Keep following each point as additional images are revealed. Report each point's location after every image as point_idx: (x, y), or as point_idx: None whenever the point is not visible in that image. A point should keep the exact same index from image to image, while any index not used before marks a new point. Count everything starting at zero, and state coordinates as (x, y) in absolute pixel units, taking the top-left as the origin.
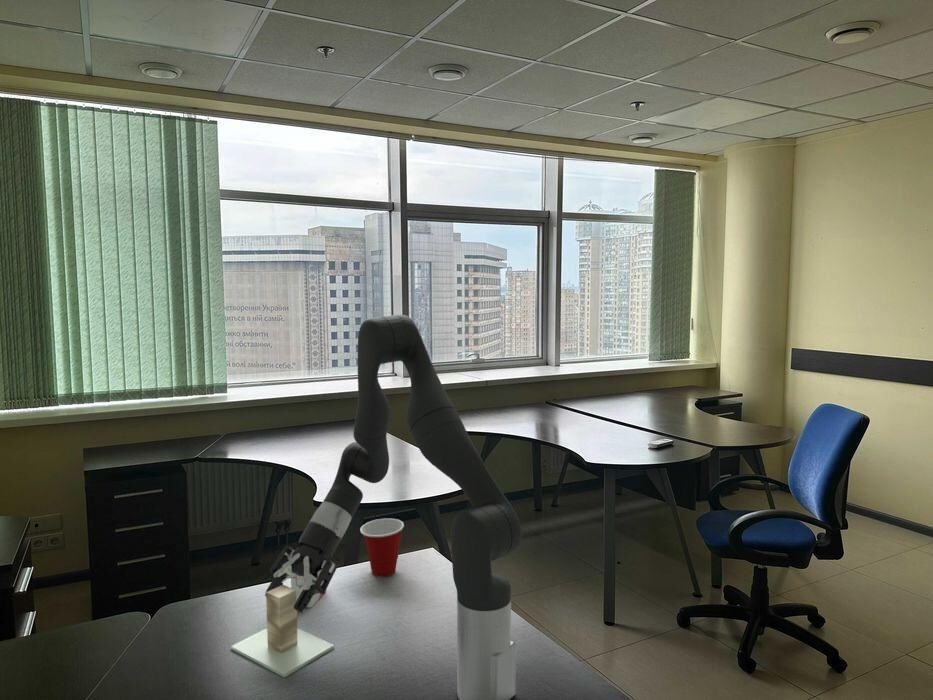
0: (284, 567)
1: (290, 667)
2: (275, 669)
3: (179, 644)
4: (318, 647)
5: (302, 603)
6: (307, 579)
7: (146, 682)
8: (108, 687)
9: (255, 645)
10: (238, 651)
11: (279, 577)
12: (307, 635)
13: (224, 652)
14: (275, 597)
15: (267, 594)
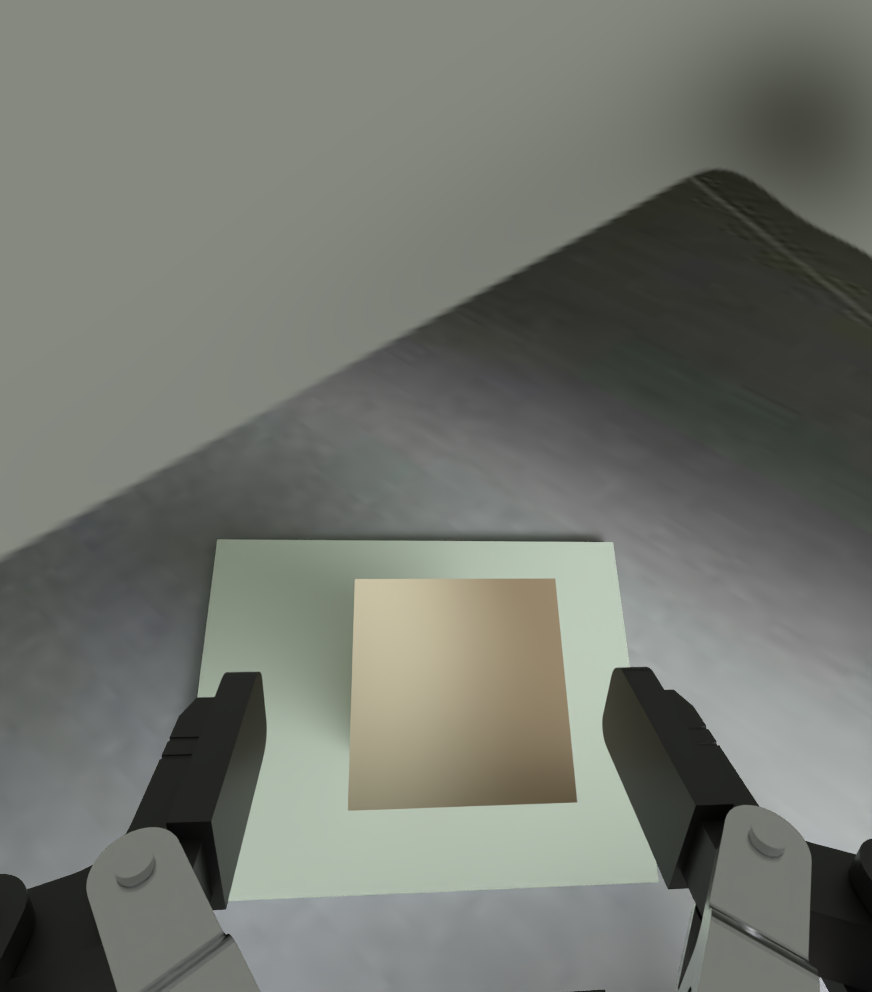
0: (736, 947)
1: (233, 592)
2: (282, 540)
3: (797, 448)
4: None
5: (175, 726)
6: (184, 961)
7: (623, 268)
8: (681, 206)
9: None
10: (554, 542)
11: (713, 857)
12: (393, 871)
13: (605, 515)
14: (417, 582)
15: (529, 580)
